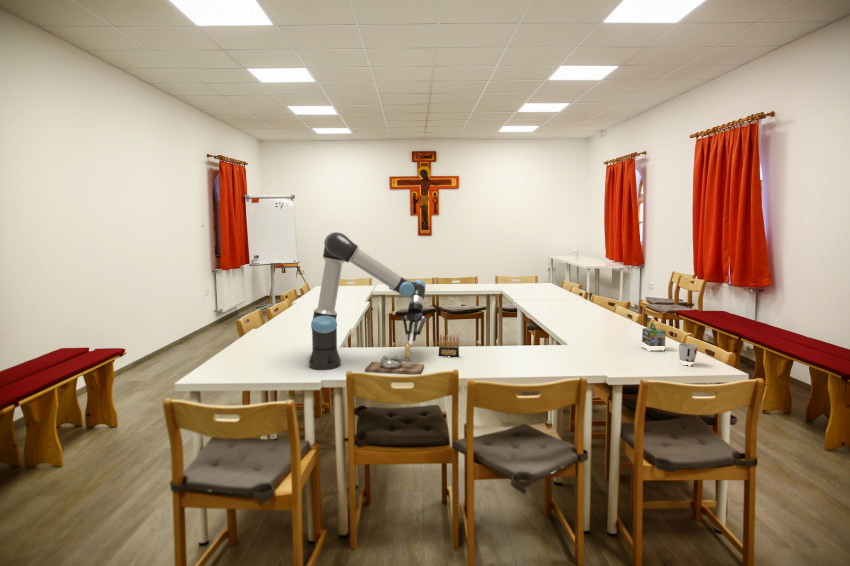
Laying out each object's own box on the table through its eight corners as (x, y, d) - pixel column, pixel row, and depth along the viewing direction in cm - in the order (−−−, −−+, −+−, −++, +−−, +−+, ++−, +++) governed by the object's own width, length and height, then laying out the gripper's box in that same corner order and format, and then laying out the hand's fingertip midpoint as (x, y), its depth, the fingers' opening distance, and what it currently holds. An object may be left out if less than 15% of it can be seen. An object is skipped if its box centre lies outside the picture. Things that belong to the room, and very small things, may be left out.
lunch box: (665, 351, 263) (667, 325, 261) (648, 351, 262) (650, 325, 261) (656, 347, 272) (658, 322, 270) (640, 347, 272) (642, 322, 270)
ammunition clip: (438, 356, 248) (438, 334, 247) (438, 355, 250) (439, 333, 249) (458, 357, 247) (459, 335, 245) (459, 356, 249) (459, 334, 247)
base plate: (365, 372, 221) (364, 368, 221) (371, 364, 233) (371, 361, 233) (420, 375, 217) (420, 371, 217) (424, 367, 229) (424, 364, 229)
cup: (685, 367, 233) (686, 347, 232) (673, 362, 241) (675, 343, 240) (699, 366, 234) (701, 347, 233) (688, 362, 242) (689, 343, 241)
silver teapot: (378, 368, 221) (378, 345, 220) (383, 362, 231) (383, 340, 230) (408, 370, 219) (408, 347, 218) (411, 363, 229) (412, 342, 228)
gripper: (428, 310, 248) (424, 350, 234) (404, 310, 250) (398, 349, 236) (427, 302, 242) (423, 342, 228) (402, 301, 244) (396, 341, 230)
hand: (410, 345), depth 232 cm, fingers closed
